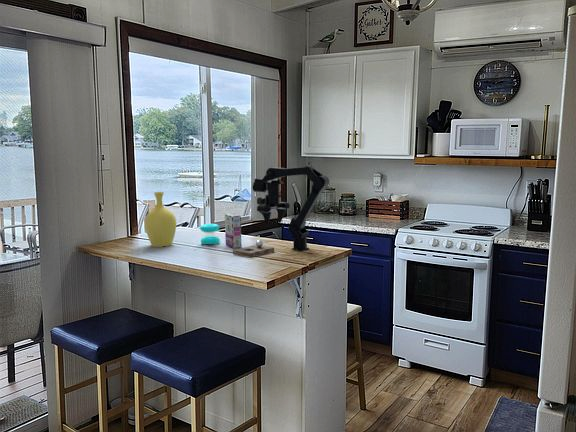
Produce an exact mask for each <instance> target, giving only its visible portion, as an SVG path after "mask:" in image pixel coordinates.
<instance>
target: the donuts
mask: <svg viewBox="0 0 576 432" xmlns="http://www.w3.org/2000/svg"><path fill="white" fill-rule="evenodd" d="M199 229H200V231H201V232H203V233H215V232H218V230H220V226H219V224H217V223H205V224H204V223H203V224H202V225H201V226H200V227H199ZM220 242H221V240H220V238H219V237H218V236H215V235H207V236H204V237H202V238H201V239H200V243H201V244H202V245H204V244H214V245H217V243H218V244H219V243H220Z"/></svg>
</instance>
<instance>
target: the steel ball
mask: <svg viewBox="0 0 576 432" xmlns="http://www.w3.org/2000/svg"><path fill="white" fill-rule="evenodd" d="M255 245H256V246H257V247H262V246H264V243H263V241H262V240H259V239H258V240H257V241H255Z"/></svg>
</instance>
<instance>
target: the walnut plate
mask: <svg viewBox="0 0 576 432" xmlns="http://www.w3.org/2000/svg"><path fill="white" fill-rule="evenodd" d="M274 252H275V247H273V246H267V245H262V247H257V246H256V244H253V245H249V246H245V247H241V248H234V249H232V255H234V256H239V257H240V256H241V257H246V258H249V259H250V258H254V257H258V256H262V255H267V254H270V253H274Z"/></svg>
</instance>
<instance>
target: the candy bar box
mask: <svg viewBox="0 0 576 432" xmlns="http://www.w3.org/2000/svg"><path fill="white" fill-rule="evenodd" d="M241 220H242V215H238V214H235V213H225V214H224V229H225V230H224V231H225V233H224V234H225V236H224V237H225V238H224V239H225V246H227V247H229V248H232V249H240V248H243V247H242V221H241Z"/></svg>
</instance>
